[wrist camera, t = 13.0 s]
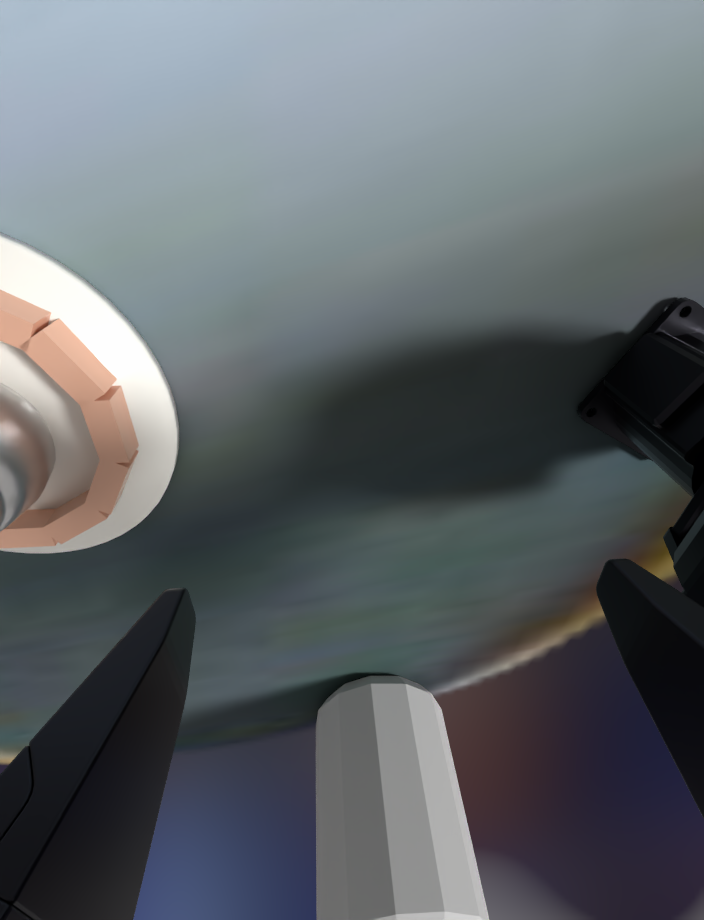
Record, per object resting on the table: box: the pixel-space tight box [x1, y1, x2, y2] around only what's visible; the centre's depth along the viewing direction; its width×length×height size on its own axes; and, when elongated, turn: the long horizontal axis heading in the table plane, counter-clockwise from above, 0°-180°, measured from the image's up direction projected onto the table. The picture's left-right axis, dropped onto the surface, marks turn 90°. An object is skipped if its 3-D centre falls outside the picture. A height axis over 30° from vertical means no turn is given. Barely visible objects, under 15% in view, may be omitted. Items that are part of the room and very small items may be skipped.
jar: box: [316, 676, 489, 920], centre depth 30 cm, size 10×10×18 cm
